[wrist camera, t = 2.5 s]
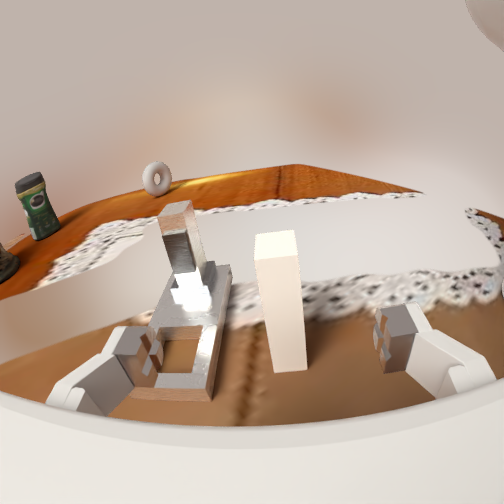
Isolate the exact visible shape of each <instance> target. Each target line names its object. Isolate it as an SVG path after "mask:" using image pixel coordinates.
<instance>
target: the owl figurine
mask: <svg viewBox="0 0 504 504" xmlns="http://www.w3.org/2000/svg"><path fill="white" fill-rule="evenodd" d="M15 263H18V264H15ZM18 265H20V260H19V258H18V257H17V256H14V255H13V254H12V253H10V252H9V253H8V252H7V251H6V250H5V249H4V248H3V246H2V244H1V243H0V283H1V282H2V281H4V280H6V279H8V278H10V277H11V276H13V275H14V274H15V273H16V271H17V269H18V268H19V266H18Z"/></svg>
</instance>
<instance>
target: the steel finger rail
mask: <svg viewBox="0 0 504 504" xmlns="http://www.w3.org/2000/svg"><path fill="white" fill-rule="evenodd" d="M157 219H158V222H159V225H160V229H161V232H162V238H163V241H164V244H165V247H166V251H167V254H168V257H169V260H170V263H171V266H172V269H173V273H172V275H171V277H170V279H169V281H168V283H167V285H166V287H165V290H164V292H163V294H162V296H161V298H160V300H159V303H158V305H157V307H156V309H155V312H154V314H153V316H152V318H151V321H150V323H149V325H148V326H151V327H153V328H154V330H155V332H156V337H155V339H156V340H157V341H159V342H160V343H161V346H162V349H163V346H164V343H165V341H167V340H195V339H200V341H199V345H198V349H197V353H196V357H195V362H194V366H193V370H192V373H158V377H157V380H156V383H155V386H154V388H145V387H134V389H133V390H132V391H131V392H130V393H129V395H130V397H131V398H133V399H146V400H163V401H198V402H211V399H212V393H213V387H214V381H215V375H216V369H217V363H218V357H219V351H220V345H221V340H222V334H223V328H224V322H225V317H226V311H227V305H228V300H229V294H230V288H231V283H232V273H231V268H230V265H221V266H216V265H215V261H209V262H207V261H206V257H205V253H204V250H203V246H202V242H201V238H200V234H199V230H198V226H197V222H196V218H195V214H194V210H193V206H192V202H191V200H188V201H183V202H177V203H171V204H167V205H166V207H165V208H164V209H163V210H162V212H161V213H160V214H159V215H158V217H157Z"/></svg>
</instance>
